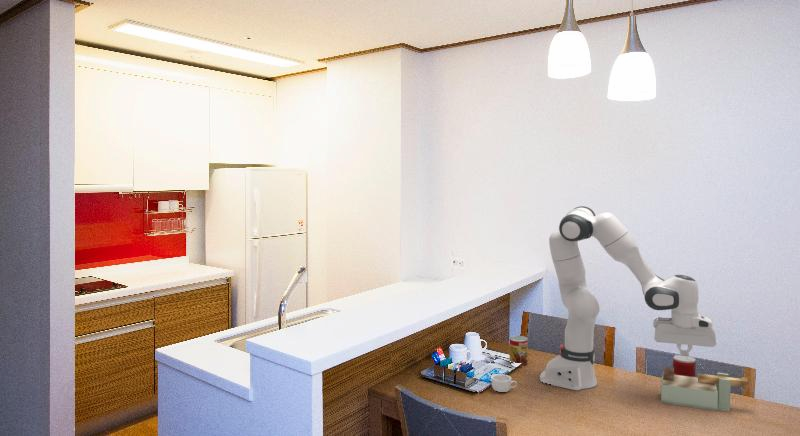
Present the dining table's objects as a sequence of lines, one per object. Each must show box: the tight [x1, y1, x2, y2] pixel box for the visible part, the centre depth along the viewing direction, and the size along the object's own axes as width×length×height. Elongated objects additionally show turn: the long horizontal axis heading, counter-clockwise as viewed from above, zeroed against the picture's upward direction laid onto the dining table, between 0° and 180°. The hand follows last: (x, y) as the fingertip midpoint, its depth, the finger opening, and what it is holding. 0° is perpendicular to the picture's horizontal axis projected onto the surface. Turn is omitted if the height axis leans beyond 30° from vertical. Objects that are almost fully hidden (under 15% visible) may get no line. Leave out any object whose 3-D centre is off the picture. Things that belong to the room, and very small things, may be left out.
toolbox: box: [660, 372, 732, 413], centre depth 201 cm, size 22×9×12 cm, turn 66°
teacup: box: [490, 373, 518, 393], centre depth 215 cm, size 10×8×5 cm
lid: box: [662, 366, 717, 392], centre depth 201 cm, size 17×9×5 cm, turn 65°
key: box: [697, 372, 749, 391], centre depth 197 cm, size 16×4×3 cm, turn 66°
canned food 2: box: [672, 354, 697, 377], centre depth 218 cm, size 8×8×11 cm
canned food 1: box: [509, 335, 529, 367], centre depth 243 cm, size 8×8×12 cm
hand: (684, 355), depth 201 cm, fingers closed
